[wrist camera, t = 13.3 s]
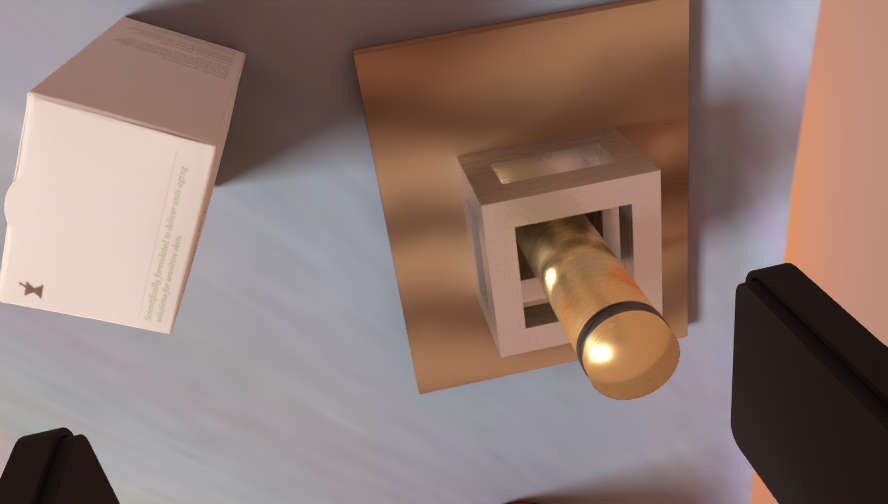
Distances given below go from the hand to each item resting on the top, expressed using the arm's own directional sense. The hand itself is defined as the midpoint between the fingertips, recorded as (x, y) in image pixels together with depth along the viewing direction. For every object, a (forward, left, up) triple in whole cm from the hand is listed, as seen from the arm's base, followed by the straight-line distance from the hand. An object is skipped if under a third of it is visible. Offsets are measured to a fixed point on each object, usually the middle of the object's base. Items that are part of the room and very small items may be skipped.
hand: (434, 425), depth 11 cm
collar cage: (+13, +9, -32) cm, 36 cm away
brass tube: (+14, +9, -32) cm, 36 cm away
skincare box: (+3, -10, -34) cm, 35 cm away
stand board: (+13, +9, -34) cm, 37 cm away
